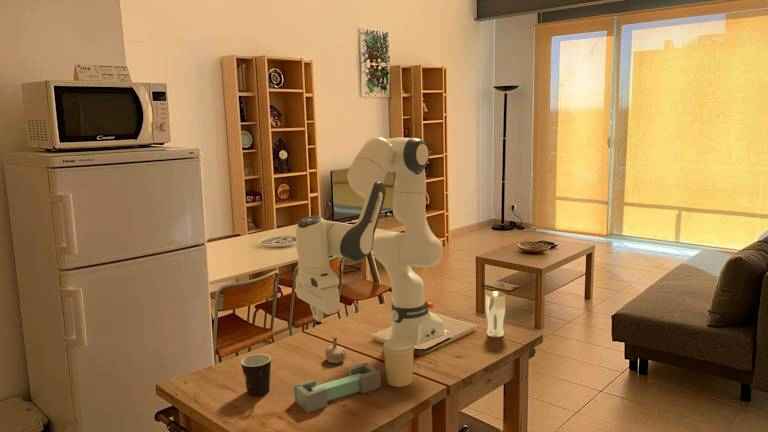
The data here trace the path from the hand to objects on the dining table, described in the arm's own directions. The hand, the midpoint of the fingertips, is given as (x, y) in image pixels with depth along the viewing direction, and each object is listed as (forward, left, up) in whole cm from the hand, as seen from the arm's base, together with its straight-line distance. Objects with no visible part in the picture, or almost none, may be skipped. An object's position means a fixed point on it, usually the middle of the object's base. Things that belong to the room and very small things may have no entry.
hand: (318, 319), depth 169 cm
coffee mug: (+16, -10, -22) cm, 29 cm away
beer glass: (-70, +1, -22) cm, 73 cm away
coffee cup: (-22, +9, -22) cm, 32 cm away
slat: (-3, +5, -22) cm, 23 cm away
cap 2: (-12, +5, -22) cm, 25 cm away
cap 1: (+6, +5, -22) cm, 23 cm away
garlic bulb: (-14, -16, -23) cm, 31 cm away
